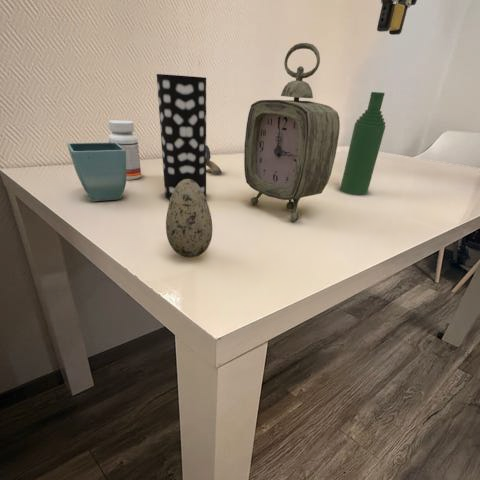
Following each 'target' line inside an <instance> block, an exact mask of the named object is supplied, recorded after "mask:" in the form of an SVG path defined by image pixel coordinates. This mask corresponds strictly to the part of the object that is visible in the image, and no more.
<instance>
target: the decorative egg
mask: <svg viewBox="0 0 480 480" xmlns="http://www.w3.org/2000/svg"><path fill="white" fill-rule="evenodd" d="M210 210H211V209H210V207H209V204H208V200H207V197H206V198H205V195H204V193H203V191H202V190H201V188H200V187H199V185H198V184H197V183H196V182H195V181H193V180H191V179H184V180H182V181H181V182H179V183H178V185H177V186H176V188H175V189H174V191H173V194H172V196H171V199H170V200H169V202H168V207H167V210H166V217H165V233H166V237H167V241H168V243H169V245H170V248H172V250H173V251H174V252H175V253H176V254H177V255H179V256H180V257H183V258H185V259H195V258H198V257H201V256H202V255H203V254H204V253H205V252H206V251H207V250H208V249H209V246H210V245H211V242H212V237H213V219H212V214H211V211H210Z"/></svg>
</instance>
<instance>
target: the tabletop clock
mask: <svg viewBox="0 0 480 480" xmlns="http://www.w3.org/2000/svg"><path fill="white" fill-rule="evenodd" d="M304 49H305V50H310V51H311V52H313V54H314V56H315V57H316V63H315V66H314V68H312V69H311V70H309V71H306V72H304V70H305V69H304V67H303V66H301V65H300V66H298V67H297V68H296V72H295V71H293V70H291V69H290V68H289V67H288V61H289V58H290V57H291V55H292V54H293V53H294V52H295V51H297V50H298V51H299V50H304ZM320 55H321V54H320V52H319V50H318V47H316V46H315V44H313V43H308V42H300V43H297V44H294V45H293V46H291V48H290V49H289V50H288V51H287V53H286V55H285V56H284V57H285V58H284V62H283V63H284V64H283V65H284V70H285V71H286V73H287V75H289V76H290V77H292V78H293V79H295V80H291V81H289V82H288V83H286V85H284V88H283V89H282V92H281V93H280V97H288V98H293V99H291V100H289V99H261V100H260V99H259V100H256V101H255V102H253V103H252V104H251V105H250V109H249V111H248V115H247V119H246V120H247V121H246V127H245V138H244V153H243V154H244V156H243V157H244V158H243V164H244V165H243V166H244V177H245V183H246V184H247V185H248V186H249V187H250V188H252V190H255V191H256V192H258V193H257V195H256V196H252V197H251V198H250V199H249V201H250V204H251V206H254V207H255V206H257V205H258V204H259V198H261V196H262V195H264V196H266V197H270V198H274V199H277V200H282V201H288V202H286V205H285V207H286V209H287V210H289V211H292V210H293V212H292V213H291V214H290V215H289V219H290V221H291V222H293V223H295V222H297V221H299V219H300V215H299V212H297V211H298V206H299V201H300V200H301V198H306V197H311V196H317V195H320V194H322V193H323V191H324V190H325V188H326V186H327V185H328V183H329V180H330V178H331V175H332V171H333V167H334V163H335V159H336V155H337V149H338V144H339V138H340V129H341V128H340V127H341V126H340V125H341V123H340V122H341V121H340V115H339V112H338V111H337V110H336V109H334V108H333V107H331V106H329V105H327V104H323V103H320V102H314V101H310V100H300V99H314V94H313V89H312V87H311V85H310V84H309V83H308V82H307V81H304V79H307V78H309V77H312V76H314V74H315V73H316V72H317V70H318V69H319V67H320V63H321V56H320Z"/></svg>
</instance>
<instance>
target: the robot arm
mask: <svg viewBox="0 0 480 480" xmlns="http://www.w3.org/2000/svg"><path fill="white" fill-rule="evenodd" d="M417 1H418V0H380V4H381V9H380V13H379V18H378V22H377V26H378V27H376V31H377V32H379V33H381V32H384V33H385V32H388V34H389V35H391V36H397V35H399V36H400V35H401V33H402V31H403V28H404V24H405V20H406V16H407V12H408V9H409V8H411V6H415V5H416V4H417ZM395 4H402V5H404V6H405V9H404V14H403V17H402V21H401V25H400V28H399V30H396V31H388V30H389V29H390V25H391V21H392V17H393V13H394V8H395Z"/></svg>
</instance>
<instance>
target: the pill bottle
mask: <svg viewBox="0 0 480 480" xmlns="http://www.w3.org/2000/svg"><path fill="white" fill-rule="evenodd" d="M108 128H109V131H110V132H111V133H110V134H109V135H108V143H118V144H119V145H120V146H121V147H123V148H124V149H125V150H126V181H127V180H128V181H132V180H138V179H140V178H141V177H142V171H141V169H142V168H141V160H140V151H139V150H140V149H139V142H138V141H139V139H138V137H137V136H136V135H135V134H133V132H135V124H134V122H133V121H131V120H121V119H119V120H118V119H117V120H116V119H112V120H111V119H110V120H108Z"/></svg>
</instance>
